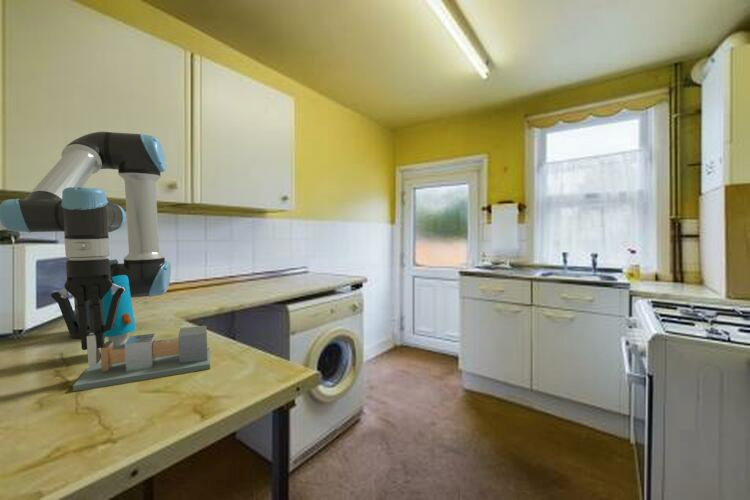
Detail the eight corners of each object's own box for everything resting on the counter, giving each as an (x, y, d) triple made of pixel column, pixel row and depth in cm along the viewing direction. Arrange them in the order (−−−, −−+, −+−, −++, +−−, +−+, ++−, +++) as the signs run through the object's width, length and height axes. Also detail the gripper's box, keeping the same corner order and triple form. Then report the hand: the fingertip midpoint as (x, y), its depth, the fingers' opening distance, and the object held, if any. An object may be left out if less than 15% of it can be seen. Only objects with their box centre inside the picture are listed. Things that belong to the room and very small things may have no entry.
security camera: (113, 272, 98) (142, 273, 96) (116, 346, 99) (146, 348, 97) (82, 276, 90) (114, 277, 88) (87, 356, 91) (118, 359, 89)
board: (91, 368, 83) (91, 363, 83) (209, 351, 94) (209, 347, 94) (73, 391, 71) (72, 385, 71) (209, 368, 82) (209, 363, 82)
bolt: (107, 363, 81) (106, 341, 81) (180, 352, 88) (180, 332, 87) (101, 371, 76) (100, 348, 76) (179, 359, 83) (178, 338, 83)
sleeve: (131, 362, 84) (130, 336, 83) (156, 358, 86) (154, 333, 85) (126, 372, 78) (124, 344, 77) (152, 368, 80) (151, 341, 80)
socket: (181, 354, 89) (180, 328, 88) (207, 350, 91) (206, 325, 91) (179, 364, 82) (178, 336, 81) (207, 360, 84) (206, 333, 84)
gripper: (42, 261, 70) (49, 374, 72) (120, 258, 76) (125, 363, 77) (57, 258, 77) (63, 361, 78) (127, 256, 82) (132, 352, 84)
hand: (94, 362), depth 78 cm, fingers closed
